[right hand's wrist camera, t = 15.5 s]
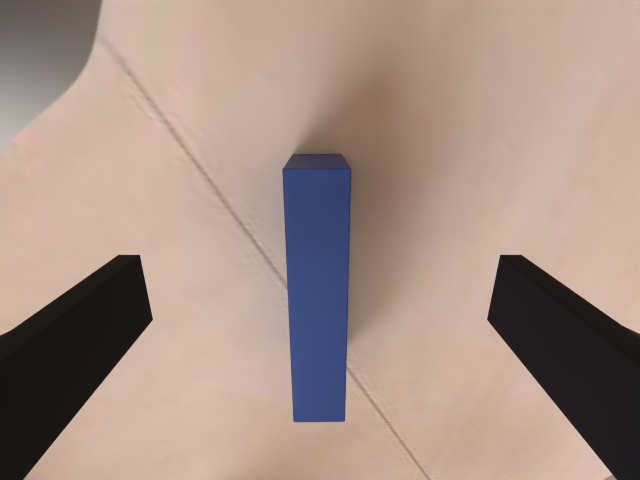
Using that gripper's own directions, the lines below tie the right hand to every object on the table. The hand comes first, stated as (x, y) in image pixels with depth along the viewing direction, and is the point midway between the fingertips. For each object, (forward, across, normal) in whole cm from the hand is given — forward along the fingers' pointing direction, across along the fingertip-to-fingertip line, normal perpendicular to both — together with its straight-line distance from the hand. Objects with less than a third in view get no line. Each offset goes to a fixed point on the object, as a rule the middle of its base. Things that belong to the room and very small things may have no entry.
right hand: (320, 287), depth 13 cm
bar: (+20, 0, -8) cm, 22 cm away
